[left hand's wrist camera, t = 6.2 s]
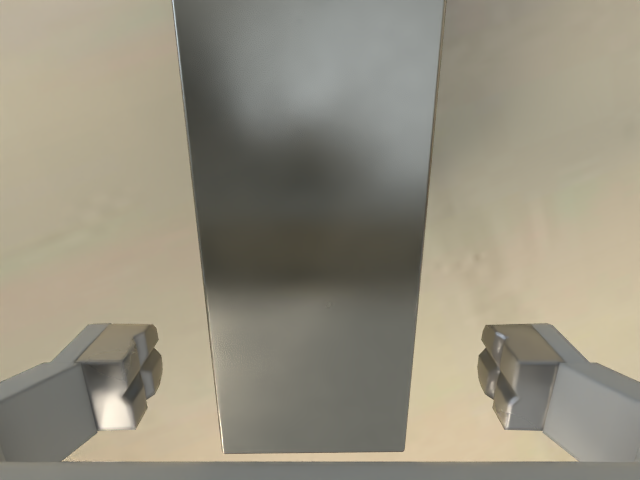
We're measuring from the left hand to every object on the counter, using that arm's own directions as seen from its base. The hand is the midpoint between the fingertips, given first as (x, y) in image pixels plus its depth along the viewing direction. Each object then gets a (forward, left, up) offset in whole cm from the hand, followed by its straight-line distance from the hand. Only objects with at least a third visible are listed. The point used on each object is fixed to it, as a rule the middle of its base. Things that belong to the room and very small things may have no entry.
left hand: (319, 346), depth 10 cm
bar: (+9, 0, -9) cm, 13 cm away
